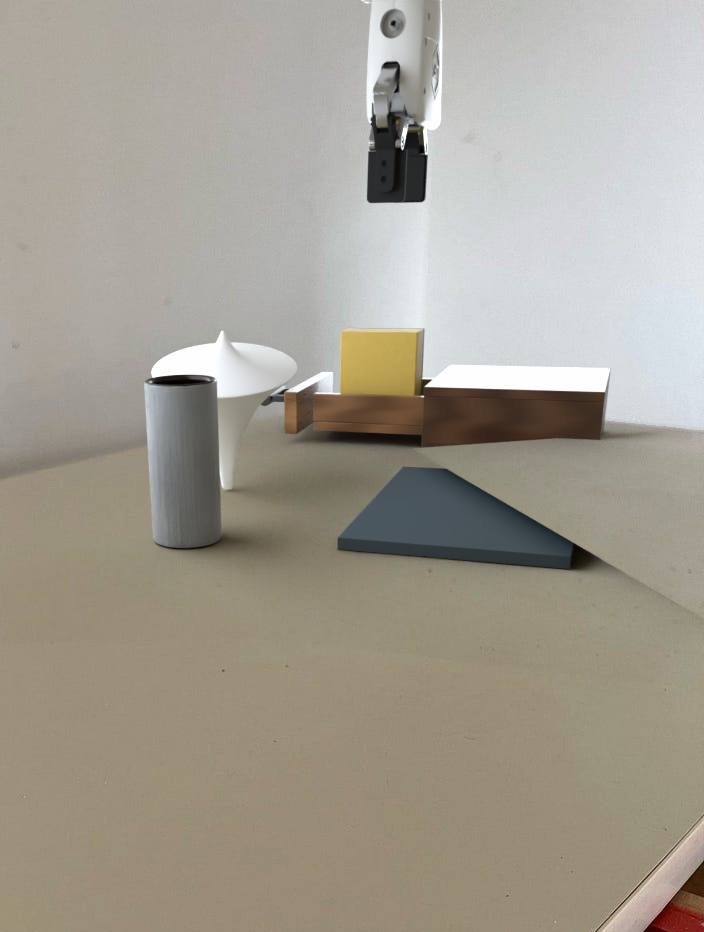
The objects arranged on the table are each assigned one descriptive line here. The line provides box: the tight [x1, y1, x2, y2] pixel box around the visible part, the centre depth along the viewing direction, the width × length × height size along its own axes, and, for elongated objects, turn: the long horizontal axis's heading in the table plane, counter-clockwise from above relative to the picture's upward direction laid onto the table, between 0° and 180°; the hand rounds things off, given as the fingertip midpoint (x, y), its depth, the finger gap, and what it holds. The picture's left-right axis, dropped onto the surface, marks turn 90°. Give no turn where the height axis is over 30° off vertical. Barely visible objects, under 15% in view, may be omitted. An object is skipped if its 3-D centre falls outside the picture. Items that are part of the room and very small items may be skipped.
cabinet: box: [420, 364, 612, 449], centre depth 92 cm, size 15×14×6 cm
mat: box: [336, 465, 576, 570], centre depth 71 cm, size 20×14×1 cm
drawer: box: [260, 371, 435, 436], centre depth 97 cm, size 17×12×4 cm
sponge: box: [339, 327, 426, 396], centre depth 95 cm, size 7×4×8 cm, turn 69°
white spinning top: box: [151, 329, 298, 491], centre depth 77 cm, size 10×11×12 cm
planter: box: [143, 374, 222, 549], centre depth 66 cm, size 4×4×10 cm
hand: (397, 202), depth 91 cm, fingers open, 9 cm apart
